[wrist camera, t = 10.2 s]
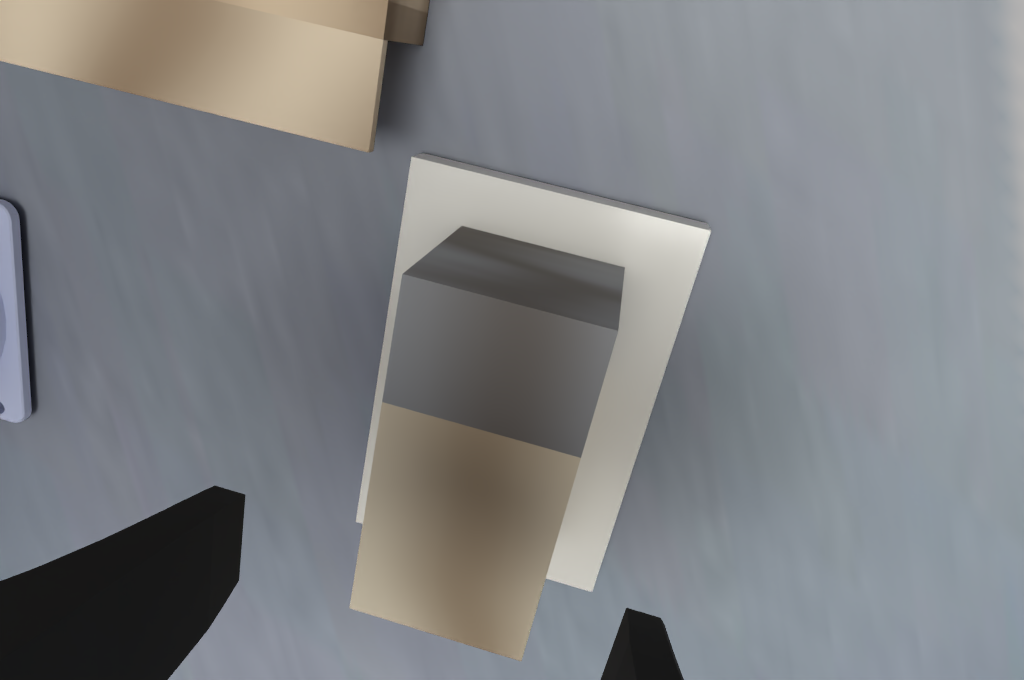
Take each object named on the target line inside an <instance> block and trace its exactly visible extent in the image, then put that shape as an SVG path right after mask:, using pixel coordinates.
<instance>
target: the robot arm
mask: <svg viewBox="0 0 1024 680" xmlns="http://www.w3.org/2000/svg"><path fill="white" fill-rule="evenodd" d="M2 404H3V405H4V406H3V405H2ZM31 411H32V409H31V393H30V377H29V361H28V346H27V330H26V314H25V298H24V283H23V267H22V251H21V235H20V220H19V215H18V212H17V210H16V209H15V207H14V206H13V205H12V204H11V203H9V202H7V201H5V200H2V199H0V419H3V420H6V421H10V422H13V423H19V422H22V421H23V420H25V419H27V418H29V416H30V415H31ZM244 505H245V494H241V493H238V492H234V491H231V490H228V489H224V488H221V487H218V486H213V487H211V488H209V489H206V490H204V491H202V492H200V493H198V494H196V495H194V496H192V497H190V498H188V499H185V500H183V501H181V502H179V503H177V504H175V505H173V506H171V507H169V508H167V509H165V510H163V511H161V512H159V513H157V514H155V515H153V516H151V517H149V518H147V519H145V520H142V521H140V522H138V523H136V524H134V525H132V526H130V527H128V528H126V529H124V530H121V531H119V532H117V533H115V534H113V535H111V536H109V537H107V538H104V539H102V540H100V541H98V542H95V543H93V544H91V545H88V546H86V547H84V548H81V549H79V550H77V551H74V552H72V553H70V554H67V555H65V556H63V557H60V558H58V559H56V560H53V561H51V562H49V563H46V564H44V565H42V566H39V567H37V568H34V569H31V570H29V571H26V572H24V573H21V574H18V575H16V576H13V577H10V578H8V579H5V580H2V581H0V680H168V679H169V677H170V676H171V675H172V674H173V672H174V671H175V670H176V669H177V668H178V666H179V665H180V664H181V663H182V661H183V660H184V659H185V658H186V656H187V655H188V654H189V653H190V651H191V650H192V649H193V648H194V646H195V645H196V644H197V643H198V642H199V640H200V639H201V638H202V636H203V635H204V634H205V633H206V631H207V630H208V629H209V627H210V626H211V624H212V623H213V621H214V619H215V618H216V616H217V615H218V613H219V612H220V610H221V609H222V607H223V606H224V604H225V602H226V601H227V599H228V597H229V596H230V594H231V593H232V591H233V589H234V588H235V586H236V584H237V583H238V581H239V572H240V558H241V545H242V532H243V518H244ZM601 680H684V679H683V677H682V674H681V671H680V669H679V666H678V663H677V660H676V658H675V655H674V652H673V649H672V646H671V643H670V640H669V637H668V634H667V631H666V628H665V625H664V623H663V621H662V620H661V618H659V617H656V616H652V615H649V614H645V613H642V612H639V611H635V610H632V609H629V608H626V610H625V613H624V616H623V619H622V622H621V624H620V627H619V630H618V633H617V636H616V638H615V641H614V644H613V647H612V650H611V652H610V655H609V658H608V661H607V664H606V666H605V669H604V672H603V675H602V678H601Z"/></svg>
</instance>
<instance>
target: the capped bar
mask: <svg viewBox="0 0 1024 680" xmlns="http://www.w3.org/2000/svg"><path fill="white" fill-rule="evenodd" d="M624 271H625V267H621V266H618V265H614V264H610V263H606V262H602V261H598V260H594V259H590V258H586V257H582V256H578V255H575V254H571V253H567V252H563V251H559V250H555V249H551V248H547V247H543V246H539V245H535V244H531V243H528V242H524V241H520V240H516V239H512V238H508V237H504V236H500V235H496V234H492V233H488V232H485V231H481V230H477V229H473V228H469V227H465V226H461V227H460V228H458V229H457V230H456V231H455V232H454V233H452V234H451V235H450V236H449V237H447V238H446V239H445V240H444V241H442V242H441V243H440V244H439V245H437V246H436V247H435V248H434V249H433V250H431V251H430V252H429V253H428V254H426V255H425V256H424V257H423V258H421V259H420V260H419V261H418V262H416V263H415V264H414V265H413V266H411V267H410V268H409V269H408V270H407V271H405V272H404V273H403V274H402V279H401V285H400V292H399V298H398V304H397V311H396V317H395V323H394V330H393V336H392V342H391V349H390V355H389V361H388V368H387V374H386V380H385V387H384V393H383V399H382V406H381V412H380V418H379V425H378V431H377V437H376V444H375V450H374V456H373V463H372V469H371V475H370V482H369V488H368V494H367V500H366V507H365V513H364V519H363V526H362V532H361V538H360V545H359V551H358V557H357V564H356V570H355V576H354V583H353V589H352V595H351V602H350V608H351V609H354V610H357V611H360V612H363V613H367V614H370V615H373V616H376V617H380V618H383V619H386V620H389V621H392V622H396V623H399V624H402V625H405V626H409V627H412V628H415V629H418V630H422V631H425V632H428V633H431V634H434V635H438V636H441V637H444V638H447V639H451V640H454V641H457V642H460V643H464V644H467V645H470V646H473V647H476V648H480V649H483V650H486V651H489V652H493V653H496V654H499V655H502V656H506V657H509V658H512V659H515V660H518V661H521V660H522V657H523V654H524V650H525V647H526V643H527V640H528V637H529V633H530V630H531V626H532V623H533V620H534V616H535V613H536V609H537V606H538V603H539V599H540V596H541V592H542V589H543V586H544V582H545V579H546V575H547V572H548V569H549V565H550V562H551V558H552V555H553V552H554V548H555V545H556V541H557V538H558V534H559V531H560V528H561V524H562V521H563V517H564V514H565V511H566V507H567V504H568V500H569V497H570V494H571V490H572V487H573V483H574V480H575V477H576V473H577V470H578V466H579V463H580V460H581V456H582V453H583V449H584V446H585V443H586V439H587V436H588V432H589V429H590V426H591V422H592V419H593V415H594V412H595V409H596V405H597V402H598V398H599V395H600V392H601V388H602V385H603V381H604V378H605V375H606V371H607V368H608V364H609V361H610V358H611V354H612V351H613V347H614V344H615V341H616V337H617V334H618V329H619V320H620V310H621V300H622V291H623V281H624Z"/></svg>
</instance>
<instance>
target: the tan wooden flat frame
mask: <svg viewBox="0 0 1024 680" xmlns="http://www.w3.org/2000/svg"><path fill="white" fill-rule="evenodd" d="M429 1H430V0H0V61H3V62H7V63H11V64H15V65H19V66H23V67H27V68H31V69H35V70H39V71H43V72H47V73H51V74H55V75H59V76H63V77H67V78H71V79H76V80H80V81H84V82H88V83H92V84H96V85H100V86H104V87H108V88H112V89H116V90H120V91H124V92H128V93H132V94H136V95H140V96H144V97H148V98H152V99H156V100H160V101H164V102H168V103H172V104H176V105H180V106H184V107H188V108H192V109H196V110H200V111H204V112H208V113H212V114H216V115H220V116H224V117H228V118H232V119H236V120H240V121H244V122H248V123H252V124H256V125H260V126H264V127H268V128H272V129H276V130H280V131H284V132H288V133H292V134H296V135H300V136H304V137H308V138H312V139H316V140H321V141H325V142H329V143H333V144H337V145H341V146H345V147H349V148H353V149H357V150H361V151H365V152H372V151H373V149H374V142H375V134H376V127H377V119H378V111H379V104H380V96H381V89H382V81H383V73H384V66H385V58H386V51H387V43H388V41H395V42H401V43H408V44H415V45H422V46H423V41H424V35H425V28H426V21H427V15H428V8H429Z"/></svg>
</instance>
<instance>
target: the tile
mask: <svg viewBox="0 0 1024 680" xmlns="http://www.w3.org/2000/svg"><path fill="white" fill-rule="evenodd" d="M461 226H465V227H469V228H473V229H477V230H481V231H485V232H488V233H492V234H496V235H500V236H504V237H508V238H512V239H516V240H520V241H524V242H528V243H531V244H535V245H539V246H543V247H547V248H551V249H555V250H559V251H563V252H567V253H571V254H575V255H578V256H582V257H586V258H590V259H594V260H598V261H602V262H606V263H610V264H614V265H618V266H621V267H625V271H624V281H623V291H622V300H621V310H620V320H619V329H618V334H617V337H616V341H615V344H614V347H613V351H612V354H611V358H610V361H609V364H608V368H607V371H606V375H605V378H604V381H603V385H602V388H601V392H600V395H599V398H598V402H597V405H596V409H595V412H594V415H593V419H592V422H591V426H590V429H589V432H588V436H587V439H586V443H585V446H584V449H583V453H582V456H581V460H580V463H579V466H578V470H577V473H576V477H575V480H574V483H573V487H572V490H571V494H570V497H569V500H568V504H567V507H566V511H565V514H564V517H563V521H562V524H561V528H560V531H559V534H558V538H557V541H556V545H555V548H554V552H553V555H552V558H551V562H550V565H549V569H548V572H547V575H546V579H550V580H553V581H556V582H560V583H563V584H566V585H570V586H573V587H576V588H580V589H583V590H587V591H590V592H592V591H593V588H594V585H595V582H596V579H597V576H598V572H599V569H600V566H601V563H602V560H603V557H604V554H605V551H606V548H607V545H608V542H609V539H610V536H611V533H612V530H613V527H614V524H615V521H616V518H617V515H618V512H619V509H620V506H621V503H622V500H623V497H624V494H625V491H626V488H627V485H628V482H629V479H630V475H631V472H632V469H633V466H634V463H635V460H636V457H637V454H638V451H639V448H640V445H641V442H642V439H643V436H644V433H645V430H646V427H647V424H648V421H649V418H650V415H651V412H652V409H653V406H654V403H655V400H656V397H657V394H658V391H659V388H660V385H661V382H662V378H663V375H664V372H665V369H666V366H667V363H668V360H669V357H670V354H671V351H672V348H673V345H674V342H675V339H676V336H677V333H678V330H679V327H680V324H681V321H682V318H683V315H684V312H685V309H686V306H687V303H688V300H689V297H690V294H691V291H692V288H693V285H694V282H695V278H696V275H697V272H698V269H699V266H700V263H701V260H702V257H703V254H704V251H705V248H706V245H707V242H708V239H709V236H710V233H711V229H710V227H709V225H708V223H704V222H700V221H696V220H692V219H688V218H684V217H680V216H676V215H672V214H668V213H664V212H660V211H656V210H652V209H648V208H644V207H640V206H636V205H632V204H628V203H624V202H619V201H615V200H611V199H607V198H603V197H599V196H595V195H591V194H587V193H583V192H579V191H575V190H571V189H567V188H563V187H559V186H555V185H551V184H547V183H543V182H539V181H535V180H530V179H526V178H522V177H518V176H514V175H510V174H506V173H502V172H498V171H494V170H490V169H486V168H482V167H478V166H474V165H470V164H466V163H462V162H458V161H454V160H450V159H446V158H442V157H437V156H433V155H429V154H425V153H421V154H418V155H415V156H412V157H411V164H410V170H409V177H408V183H407V190H406V197H405V203H404V210H403V216H402V223H401V229H400V236H399V242H398V249H397V255H396V262H395V269H394V275H393V282H392V288H391V295H390V301H389V308H388V314H387V321H386V327H385V334H384V340H383V347H382V354H381V360H380V367H379V373H378V380H377V386H376V393H375V399H374V406H373V412H372V419H371V426H370V432H369V439H368V445H367V452H366V458H365V465H364V471H363V478H362V484H361V491H360V497H359V504H358V511H357V517H356V522H358V523H362V524H363V519H364V513H365V507H366V500H367V494H368V488H369V482H370V475H371V469H372V463H373V456H374V450H375V444H376V437H377V431H378V425H379V418H380V412H381V406H382V399H383V393H384V387H385V380H386V374H387V368H388V361H389V355H390V349H391V342H392V336H393V330H394V323H395V317H396V311H397V304H398V298H399V292H400V285H401V279H402V274H403V273H404V272H405V271H407V270H408V269H409V268H410V267H411V266H413V265H414V264H415V263H416V262H418V261H419V260H420V259H421V258H423V257H424V256H425V255H426V254H428V253H429V252H430V251H431V250H433V249H434V248H435V247H436V246H437V245H439V244H440V243H441V242H442V241H444V240H445V239H446V238H447V237H449V236H450V235H451V234H452V233H454V232H455V231H456V230H457V229H458V228H460V227H461Z"/></svg>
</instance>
